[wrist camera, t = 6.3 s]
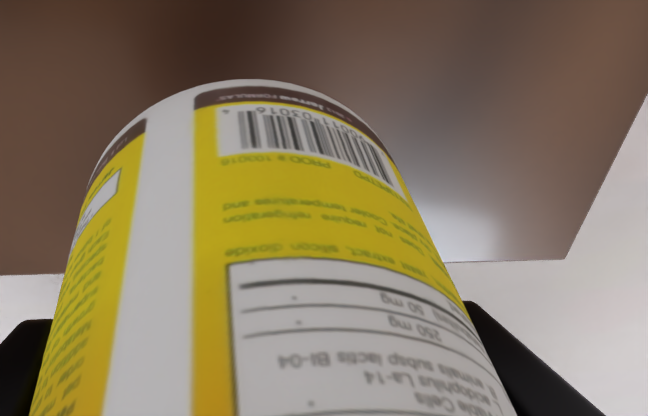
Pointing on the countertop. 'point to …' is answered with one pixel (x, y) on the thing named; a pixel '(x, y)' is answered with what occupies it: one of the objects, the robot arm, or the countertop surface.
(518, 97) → the shelf
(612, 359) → the countertop surface
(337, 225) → the supplement bottle
